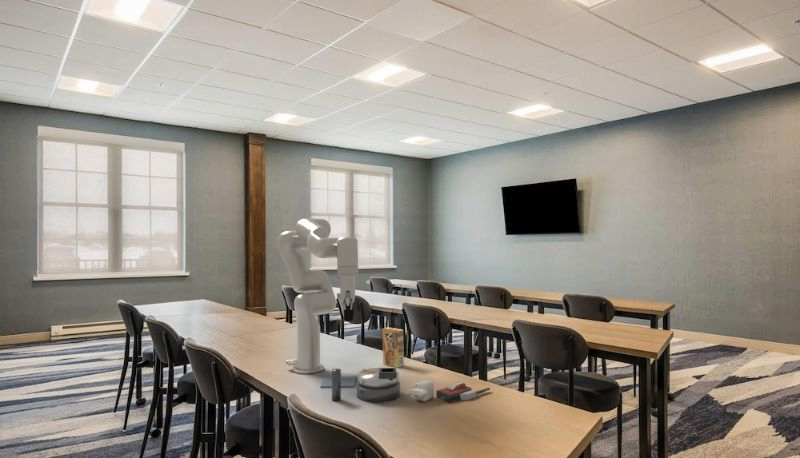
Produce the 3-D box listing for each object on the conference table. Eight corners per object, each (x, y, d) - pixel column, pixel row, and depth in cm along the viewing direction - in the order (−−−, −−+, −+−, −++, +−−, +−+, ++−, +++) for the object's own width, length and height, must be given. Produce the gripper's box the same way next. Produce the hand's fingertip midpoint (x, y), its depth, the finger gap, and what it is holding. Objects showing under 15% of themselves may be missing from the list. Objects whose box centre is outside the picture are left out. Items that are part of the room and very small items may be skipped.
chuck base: (355, 403, 153) (355, 390, 153) (357, 388, 168) (357, 377, 168) (401, 402, 153) (401, 389, 153) (399, 387, 168) (399, 376, 168)
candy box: (404, 365, 197) (404, 329, 198) (397, 367, 194) (397, 330, 195) (388, 362, 203) (388, 326, 204) (382, 364, 200) (381, 328, 200)
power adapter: (417, 407, 148) (417, 389, 148) (405, 404, 151) (404, 386, 151) (435, 398, 157) (435, 380, 157) (423, 395, 160) (423, 378, 160)
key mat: (320, 387, 169) (320, 386, 169) (323, 379, 179) (323, 377, 179) (353, 387, 169) (353, 385, 169) (355, 379, 179) (355, 377, 179)
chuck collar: (356, 389, 153) (356, 373, 153) (358, 376, 167) (358, 362, 167) (399, 388, 154) (399, 373, 154) (397, 376, 168) (397, 362, 168)
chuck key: (331, 401, 154) (331, 371, 155) (332, 398, 157) (332, 368, 158) (340, 401, 155) (340, 370, 155) (341, 398, 158) (341, 368, 158)
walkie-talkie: (450, 406, 150) (491, 393, 162) (450, 392, 150) (491, 380, 163) (432, 399, 157) (473, 387, 169) (432, 386, 157) (472, 375, 169)
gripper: (338, 270, 177) (339, 316, 176) (336, 272, 160) (337, 323, 159) (358, 270, 178) (359, 315, 177) (357, 271, 161) (359, 322, 160)
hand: (349, 319), depth 168 cm, fingers open, 9 cm apart
